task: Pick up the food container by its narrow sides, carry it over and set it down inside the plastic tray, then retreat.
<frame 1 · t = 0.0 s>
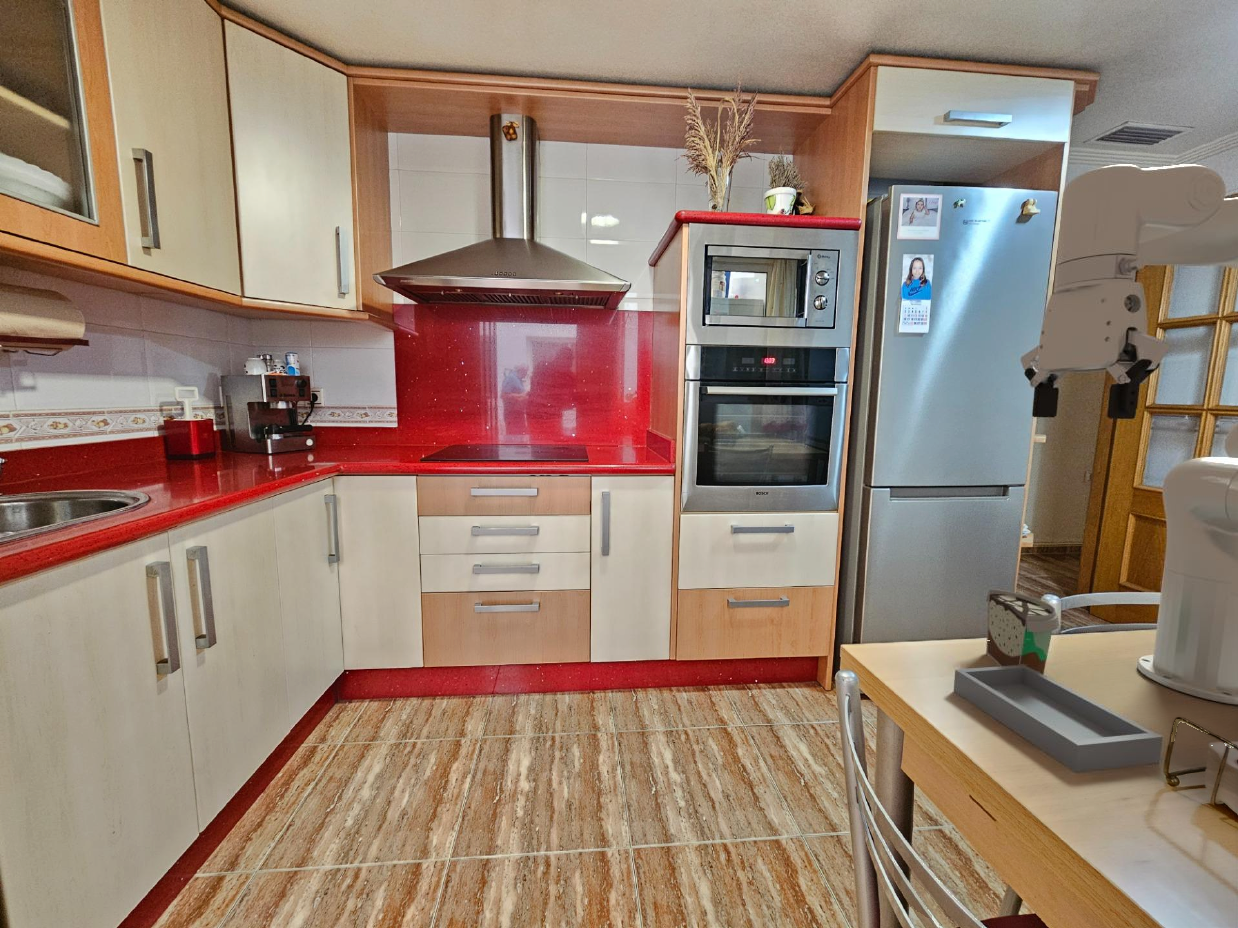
hand: (1079, 417, 69), 37 cm above the table, tool pointing down, fingers open, 9 cm apart
tray: (1045, 722, 66), on the table
food container: (1024, 670, 80), on the table
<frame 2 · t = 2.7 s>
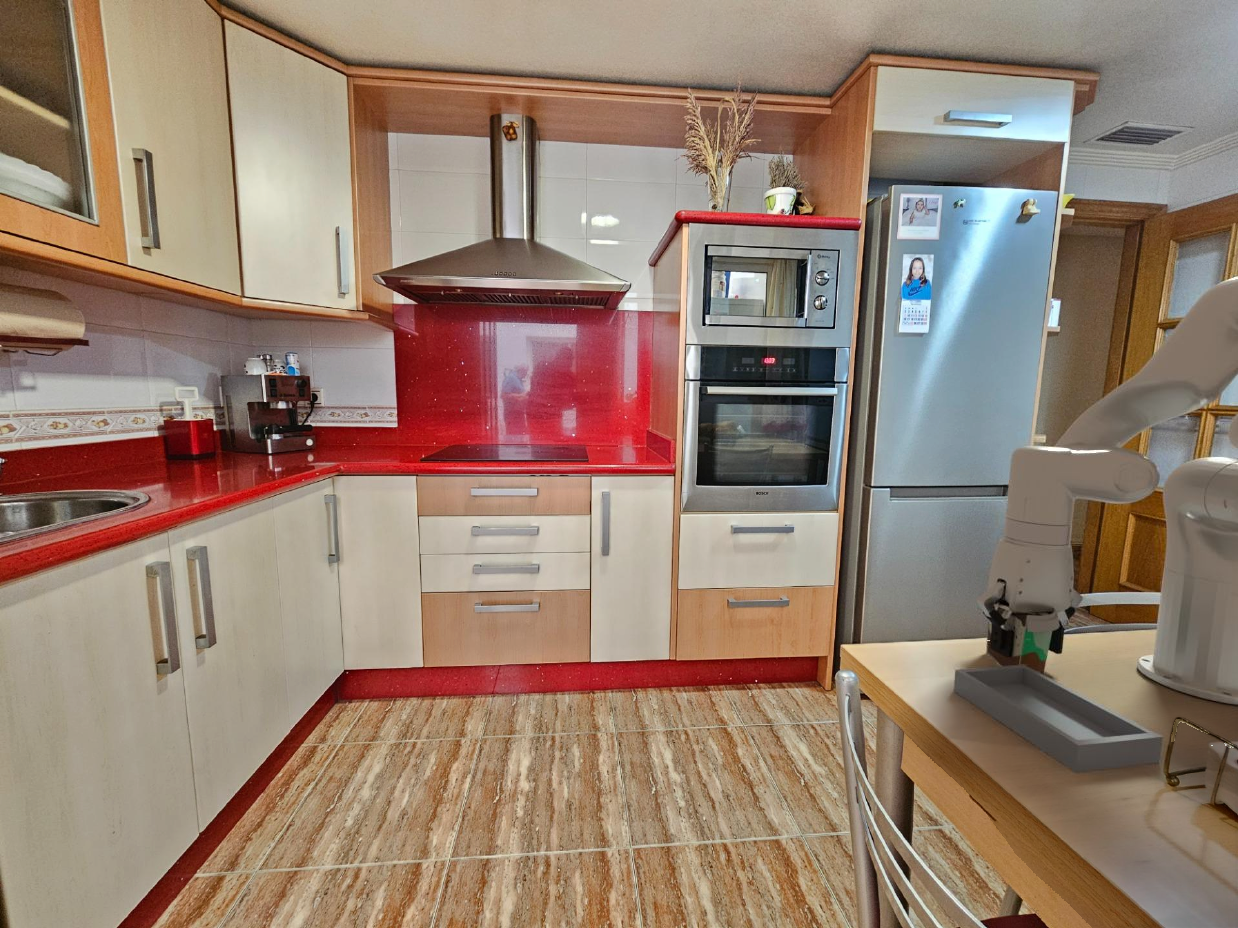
hand: (1025, 650, 79), 3 cm above the table, tool pointing down, fingers open, 7 cm apart
food container: (1024, 670, 80), on the table, touching gripper
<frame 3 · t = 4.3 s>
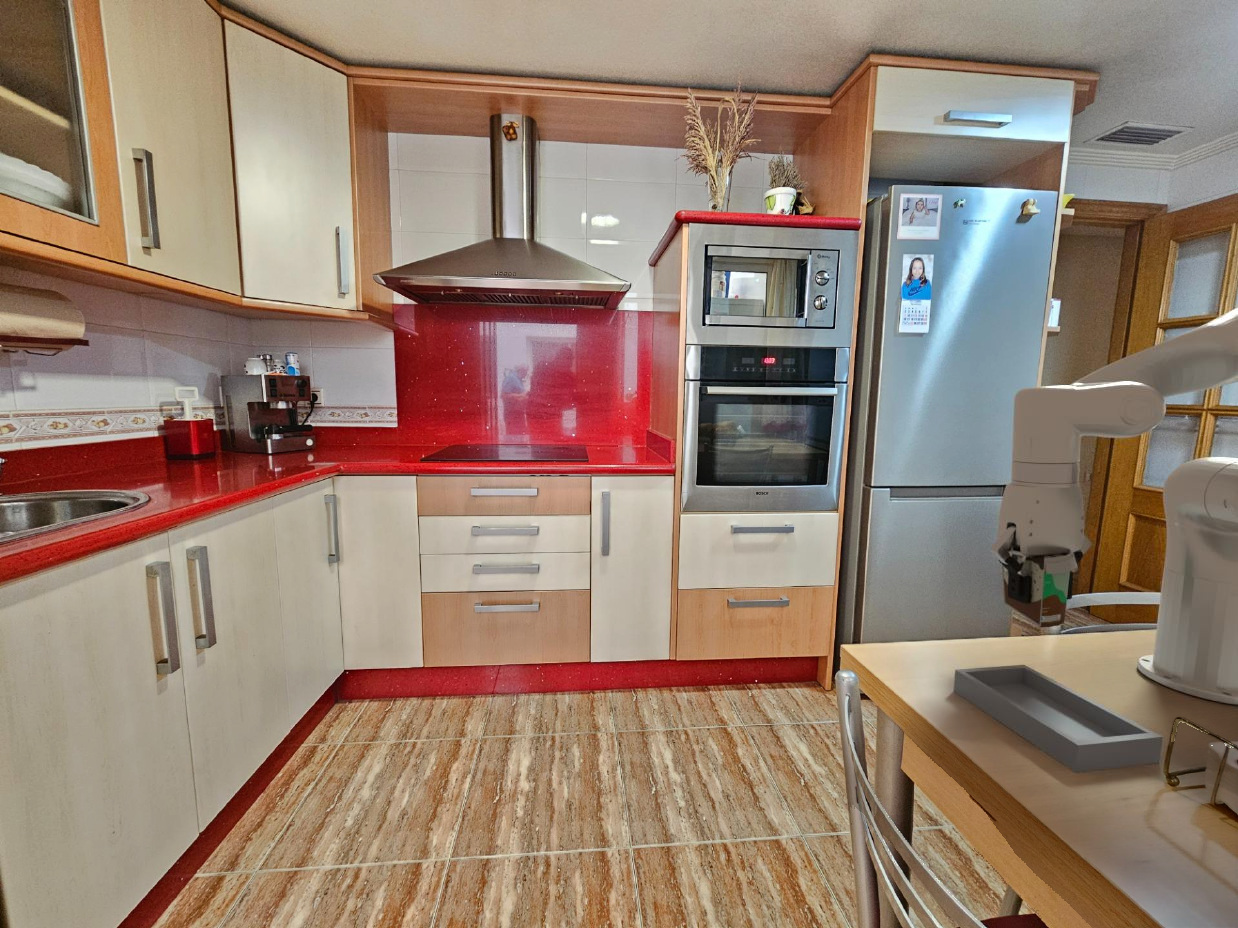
hand: (1039, 597, 78), 11 cm above the table, tool pointing down, fingers closed on food container, 6 cm apart
food container: (1044, 615, 79), point 8 cm above the table, touching gripper
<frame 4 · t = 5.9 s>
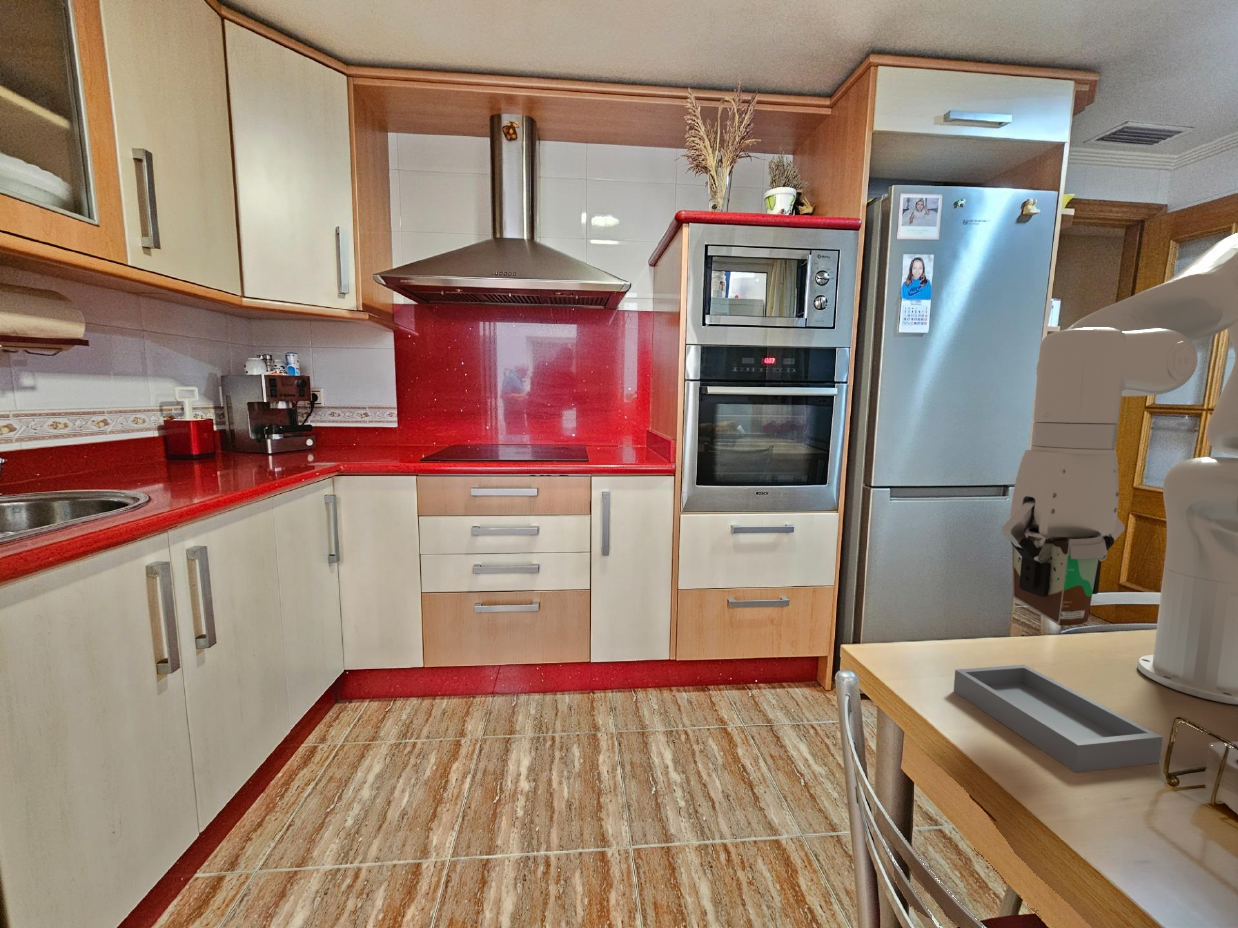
hand: (1057, 590, 64), 16 cm above the table, tool pointing down, fingers closed on food container, 6 cm apart
food container: (1062, 612, 65), point 14 cm above the table, touching gripper
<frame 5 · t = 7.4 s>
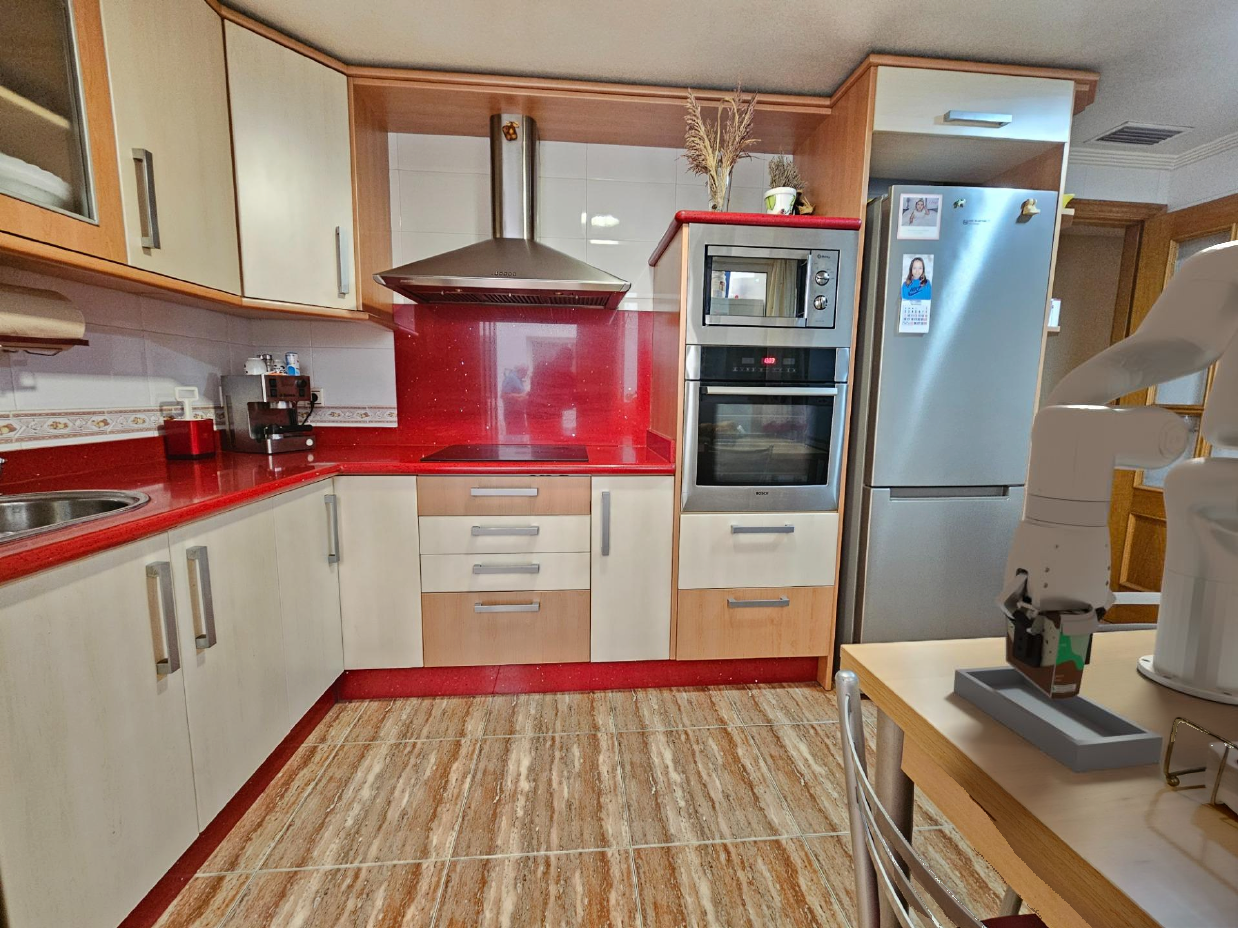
hand: (1050, 659, 65), 8 cm above the table, tool pointing down, fingers closed on food container, 6 cm apart
food container: (1055, 681, 65), point 5 cm above the table, touching gripper
when the fingers open (4 cm above the table, at t = 8.6 s): food container moves 1 cm, resting on tray.
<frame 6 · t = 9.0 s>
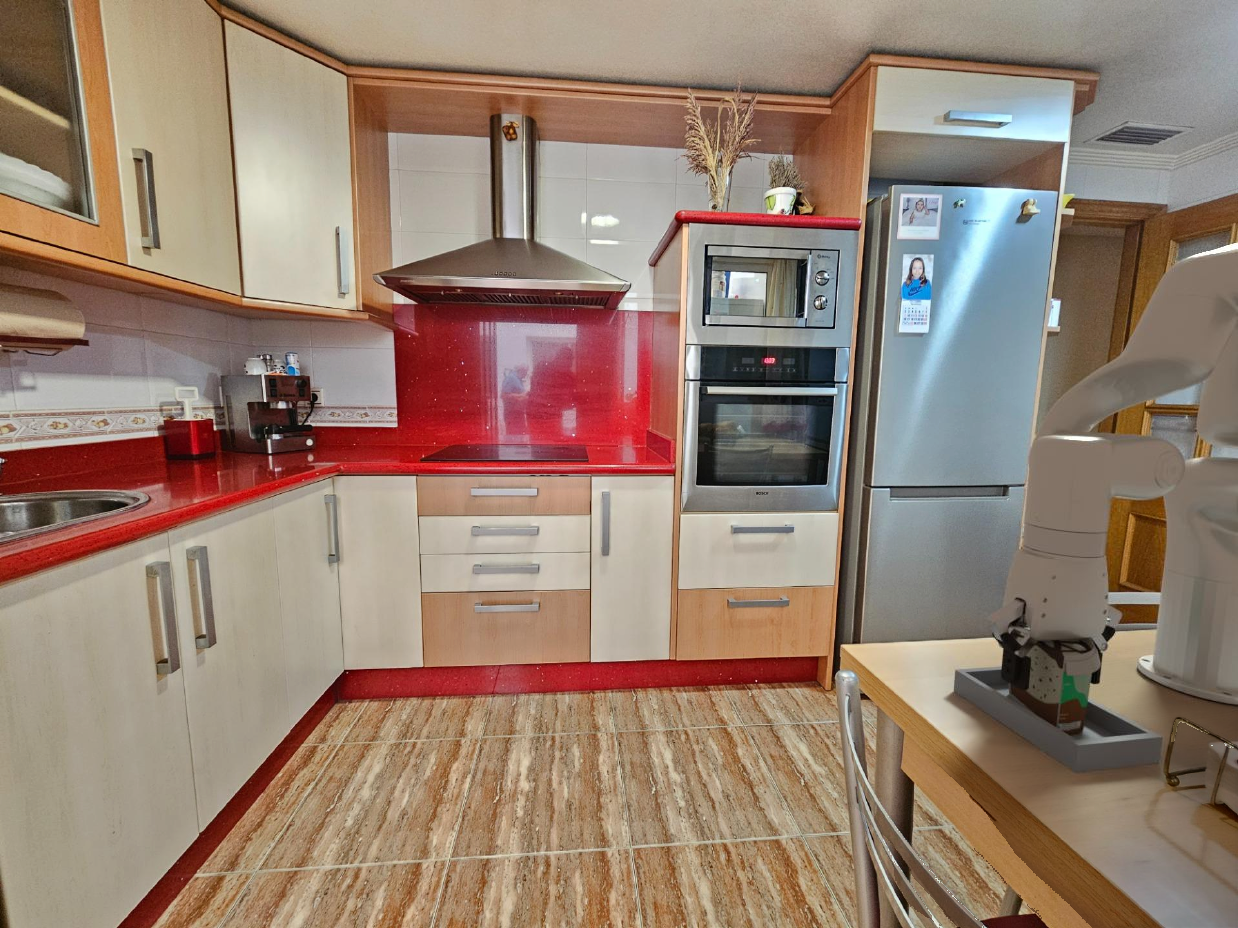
hand: (1049, 681, 65), 5 cm above the table, tool pointing down, fingers open, 9 cm apart
food container: (1059, 715, 66), point 1 cm above the table, touching gripper, tray
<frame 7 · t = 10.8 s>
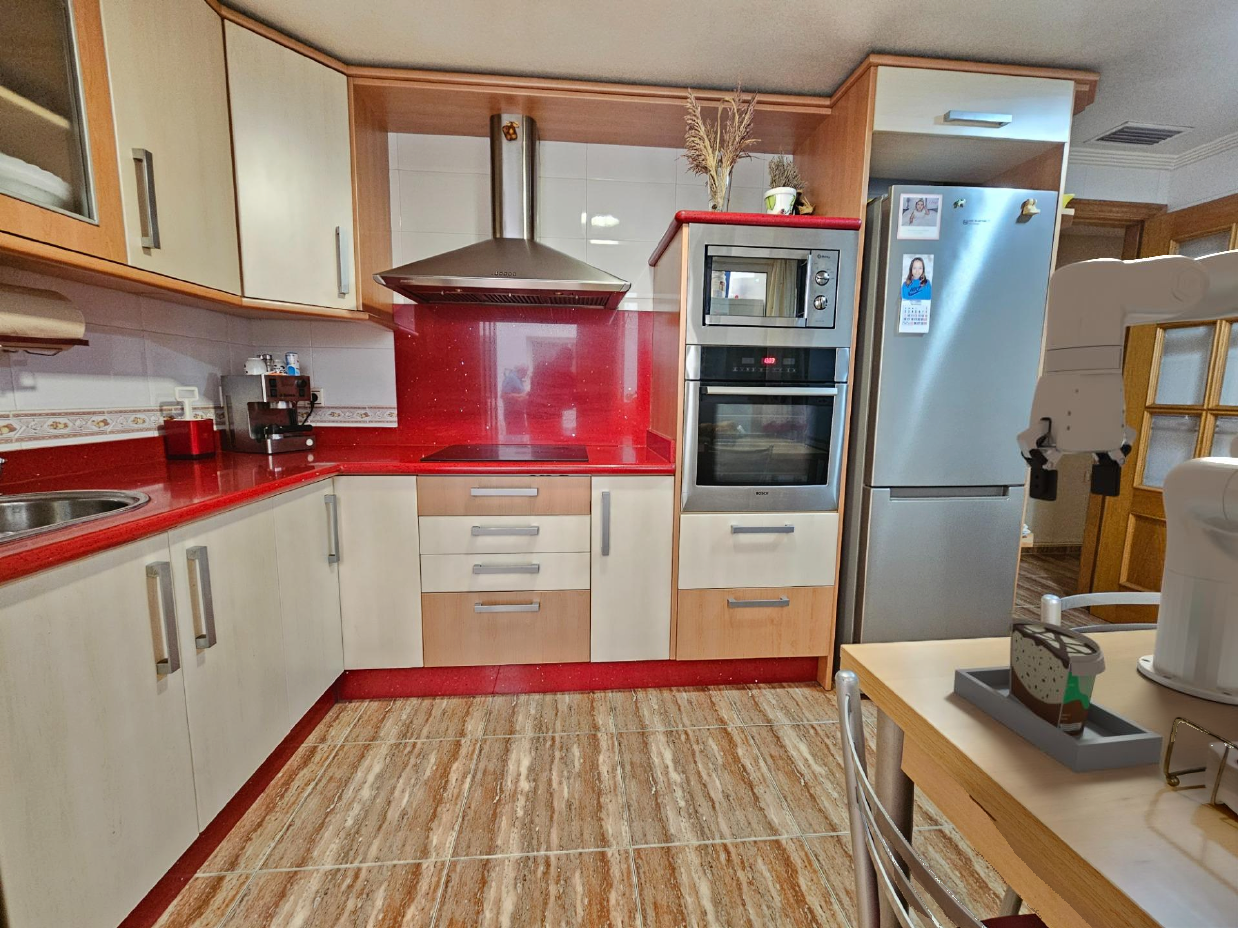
hand: (1073, 497, 71), 26 cm above the table, tool pointing down, fingers open, 9 cm apart
food container: (1058, 717, 66), point 1 cm above the table, touching tray
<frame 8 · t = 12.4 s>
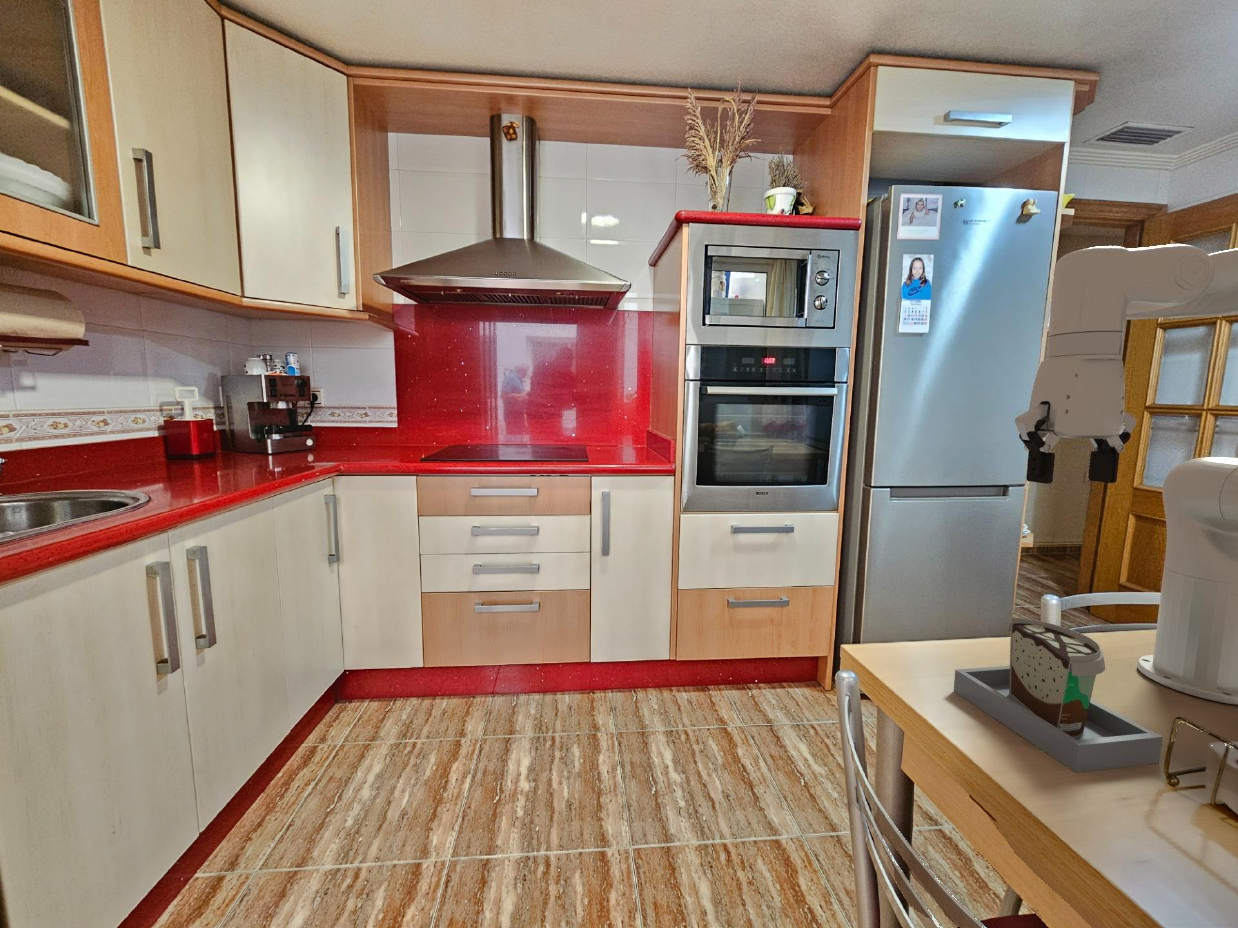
hand: (1070, 482, 72), 28 cm above the table, tool pointing down, fingers open, 9 cm apart
nothing on the table moved.
at the end: food container 1.8 cm off-centre on the tray, point 0.6 cm above the tray's base; food container tilted 0°; the gripper is holding nothing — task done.
